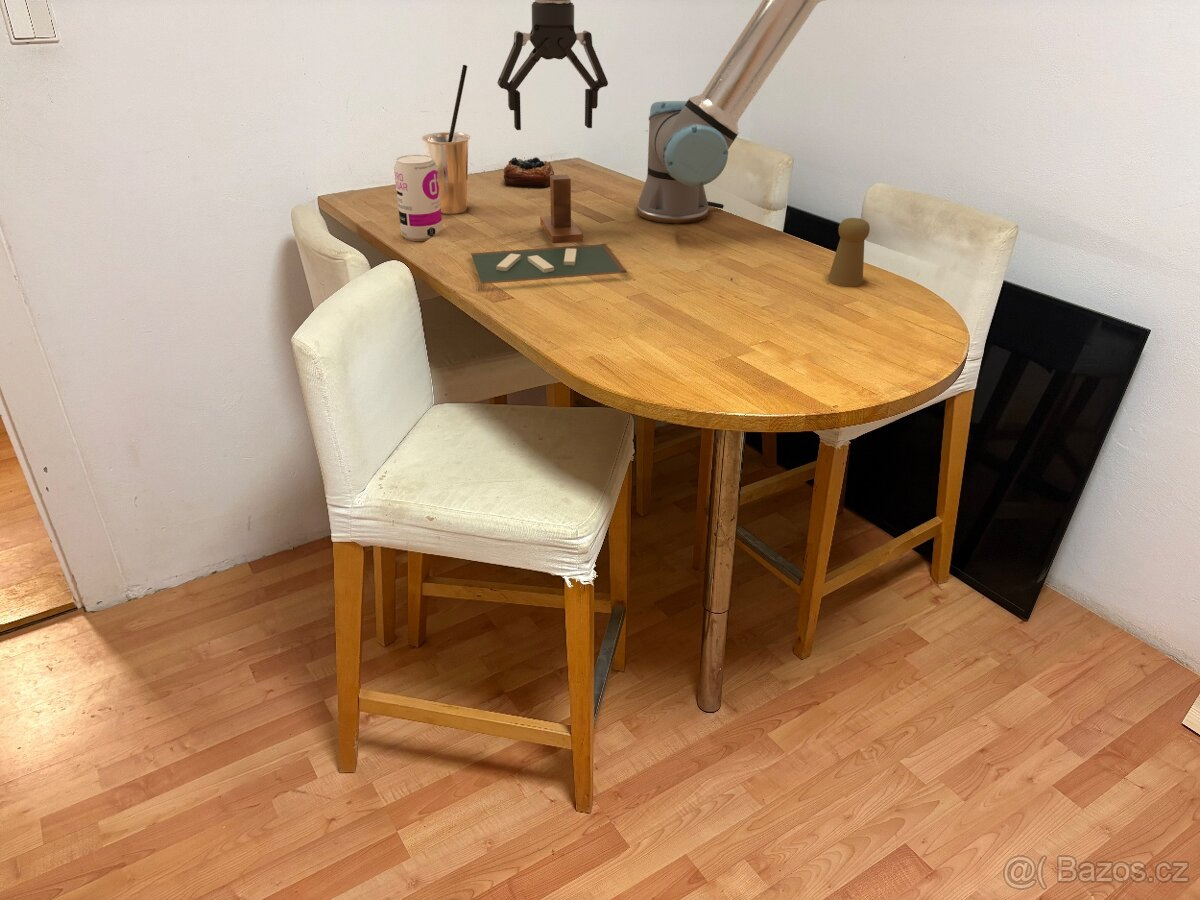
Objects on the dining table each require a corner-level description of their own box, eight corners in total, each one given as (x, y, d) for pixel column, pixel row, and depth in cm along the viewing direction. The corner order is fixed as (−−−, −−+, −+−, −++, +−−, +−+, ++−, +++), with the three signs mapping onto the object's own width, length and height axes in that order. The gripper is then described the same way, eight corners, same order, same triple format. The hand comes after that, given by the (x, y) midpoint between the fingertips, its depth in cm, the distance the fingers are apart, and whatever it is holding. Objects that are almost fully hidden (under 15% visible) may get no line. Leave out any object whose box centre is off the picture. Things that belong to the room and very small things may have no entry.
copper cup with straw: (476, 218, 183) (466, 65, 168) (424, 217, 184) (409, 64, 168) (483, 203, 193) (474, 57, 177) (433, 202, 193) (420, 56, 177)
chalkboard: (605, 249, 167) (605, 243, 167) (627, 278, 154) (627, 272, 153) (471, 259, 162) (470, 253, 161) (482, 290, 149) (481, 283, 148)
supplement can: (450, 232, 175) (444, 156, 167) (427, 244, 169) (419, 166, 161) (417, 227, 178) (409, 152, 170) (393, 238, 172) (384, 161, 164)
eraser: (568, 226, 179) (568, 167, 173) (582, 247, 168) (582, 184, 162) (540, 228, 178) (538, 169, 172) (552, 249, 167) (551, 186, 161)
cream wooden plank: (527, 260, 158) (527, 256, 157) (537, 259, 159) (537, 255, 158) (544, 272, 153) (544, 268, 152) (554, 271, 154) (554, 266, 153)
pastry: (509, 175, 214) (508, 150, 211) (557, 176, 213) (556, 152, 210) (500, 187, 205) (499, 161, 201) (550, 188, 204) (550, 163, 201)
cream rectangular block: (510, 257, 159) (510, 253, 159) (520, 258, 159) (520, 254, 158) (496, 270, 154) (496, 265, 153) (506, 271, 153) (506, 267, 153)
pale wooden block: (565, 252, 162) (565, 248, 162) (576, 252, 162) (576, 248, 162) (563, 265, 156) (563, 261, 156) (574, 265, 156) (574, 261, 156)
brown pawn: (864, 276, 156) (875, 216, 150) (861, 288, 151) (872, 226, 145) (830, 272, 158) (839, 212, 152) (826, 284, 153) (835, 222, 147)
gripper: (615, -1, 157) (611, 121, 168) (478, -2, 152) (484, 125, 163) (627, 3, 151) (622, 130, 162) (485, 2, 145) (490, 133, 157)
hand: (553, 127), depth 162 cm, fingers open, 13 cm apart
